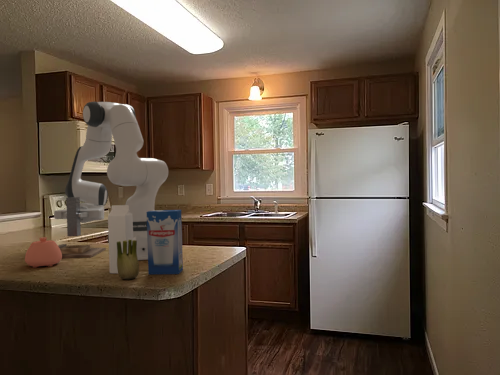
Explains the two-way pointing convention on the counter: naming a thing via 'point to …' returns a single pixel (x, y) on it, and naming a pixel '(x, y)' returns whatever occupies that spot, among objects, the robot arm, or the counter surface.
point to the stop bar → (73, 216)
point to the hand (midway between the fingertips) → (72, 215)
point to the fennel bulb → (127, 260)
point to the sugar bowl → (43, 253)
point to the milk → (118, 232)
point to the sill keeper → (79, 251)
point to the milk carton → (164, 242)
